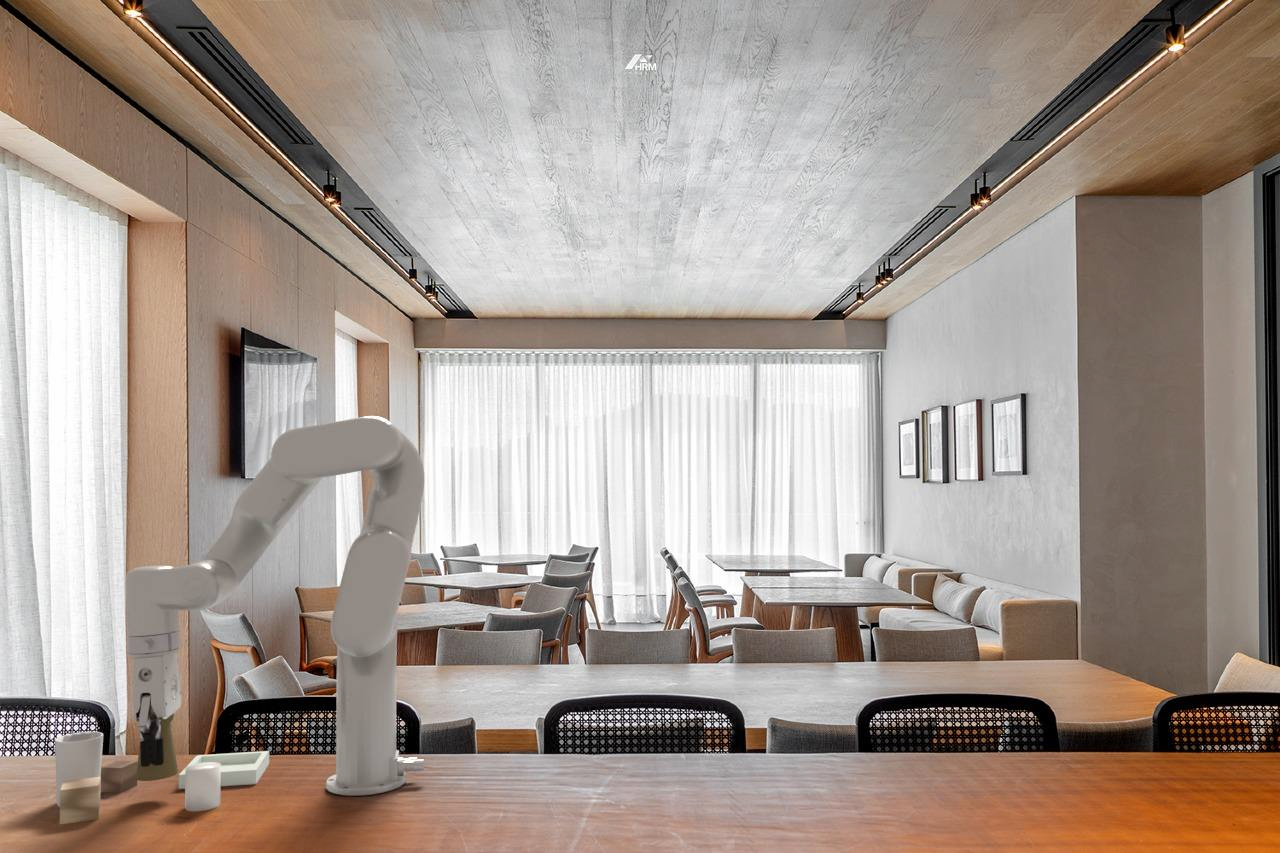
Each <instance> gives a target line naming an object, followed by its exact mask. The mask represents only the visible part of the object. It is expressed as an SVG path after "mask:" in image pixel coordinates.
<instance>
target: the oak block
mask: <svg viewBox="0 0 1280 853" xmlns="http://www.w3.org/2000/svg"><path fill="white" fill-rule="evenodd" d="M101 793H102V792H101V777H95V778H87V779H79V780H71V781H63V784H62V787H61V790H60V807H59V825H67V824H73V823H74V824H75V823H81V822H87V821H88V822H89V821H94V820H99V818H100V814H101V813H100V812H101Z"/></svg>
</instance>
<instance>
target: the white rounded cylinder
mask: <svg viewBox="0 0 1280 853" xmlns="http://www.w3.org/2000/svg"><path fill="white" fill-rule="evenodd" d="M184 769H185V789H184V810H186V811H188V812H204V811H210V810H213V809H215V808H218V807H220V806H221V790H222V789H221V787H222V786H221V764H220V763H217V762H203V763H197V764H193V765H190V766H188V767H187V766H186V767H184Z"/></svg>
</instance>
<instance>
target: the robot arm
mask: <svg viewBox="0 0 1280 853" xmlns="http://www.w3.org/2000/svg"><path fill="white" fill-rule="evenodd" d="M368 470H370V472H371V475H372V487H371V490H370V491H371V492H370V494H369V498H368V501H367V502H368V503H367V507H366V511H365V517H364V520H363V523H362V527H361V530H360V533H359V535H358V536H357V537H356V538H355V539H354V540H353V542H352V544H351V545H350V549H349V550H348V554H347V557H346V561H345V563H344V567H343V568H344V569H343V571H342V577H341V580H340V585H339V589H338V592H337V597H336V600H335V603H334V608H333V610H332V611H333V613H332V614H331V615H332V617H331V619H330V620H331V621H330V632H331V634H330V635H331V637H332V640H333V642H334V644H335V645H336V646H337V647H336V648H337V650H336V652H337V653H336V718H335V719H336V721H335V722H336V726H335V727H336V732H335V733H336V741H335V742H336V745H335V746H336V750H335V751H336V752H335V754H336V755H335V760H336V761H335V763H336V765H335V766H336V767H335V768H336V769H335V770H336V771H335V774H333V775H331V776H329V777H328V778H327V779H326V782H325V788H326V790H327V791H328V792H330V793H331V794H335V795H340V796H350V797H351V796H369V795H370V796H371V795H377V794H382V793H386V792H390V791H393V790H396V789H398V788H400V787H402V786H403V785H404V784H405V783H406V781H407V774H406V773H407V772H413V773H419V772H420V773H421V772H424V771H425V759H424V758H422V759H421V758H420V759H418V756H417V757H407V758H403V756H400V750H399V749H397V675H398V674H397V655H398V653H397V651H398V650H397V648H398V611H399V607H400V603H401V600H402V599H401V598H402V594H403V592H404V586H405V584H406V583H405V582H406V578H407V574H408V571H409V570H408V569H409V567H410V564H411V560H412V547H413V542H414V538H415V533H416V530H417V528H416V527H417V526H418V525H417V524H418V521H419V514H420V510H421V506H422V501H423V495H424V490H425V470H424V465H423V461H422V457H421V455H420V453H419V451H418V449H417V447H416V446H415V445H414V444H413V442H412V441H411V440H410V438H408V437H407V435H405V433H403V431H401V430H400V429H399V428H398V427H396V425H395V424H393V423H392V422H391V421H389V420H388V419H386V418H384V417H381V416H375V415H367V416H361V417H359V416H358V417H355V418H350V419H345V420H344V419H343V420H337V421H332V422H327V423H321V424H316V425H309V426H303V427H302V426H301V427H295V428H292V429H288V430H286V431H285V432H284V433H282V434H281V435H279V436H278V438H277V439H276V440H275V442H274V443H273V446H272V448H271V453H270V458H268V460H267V462H266V463H265V464H264V466H263V467H262V468H261V469H260V471H259V472H258V473H257V474H256V476H255V477H254V478H253V479H252V480H251V482H250V483H249V484H248V485H247V486H246V488H245V489H244V490H243V492H242V493H241V494H240V495H239V496H238V498H237V500H236V502H235V503H234V506H233V510H232V515H231V518H230V521H229V522H228V524H227V526H226V528H225V529H224V531H222V533H221V535H220V536H219V538H217V540H216V541H215V543H214V544H213V545H212V547H210V549H209V550H208V551H207V553H206V554H205V555H204V557H203V558H201V560H200V561H198V562H195V563H192V564H188V565H183V566H182V565H181V566H175V567H174V566H171V565H165V564H164V565H160V564H159V565H149V566H138V567H135V568H132V569H131V570H129V571H128V572H127V573H126V576H125V607H126V608H125V609H126V610H125V611H126V641H127V642H126V643H127V644H126V646H127V650H126V651H127V652H126V653H127V657H128V658H130V659H131V658H132V659H133V661H132V671H131V672H132V675H131V676H132V678H131V681H132V684H131V687H132V688H131V701H132V702H131V704H132V705H131V706H132V717H133V720H134V721H136V722H137V726H138V730H139V747H140V750H141V766H142V767H147V766H149V765H150V763H151V764H153V765H155V766H157V765H162V764H163V763H164V746H163V738H161V717H162V719H167V718H168V717H170V716H171V715H172V714H173V713H174V714H175V713H176V712H177V711H178V710H179V709H180V708H181V706H182V694H181V693H182V692H181V691H182V690H181V680H180V666H179V659H178V653H179V652H180V651H181V641H180V640H181V638H180V636H181V634H180V611H191V612H193V611H194V612H200V611H206V610H208V609H211V608H213V607H214V606H217V605H218V604H220V603H222V602H224V601H225V600H227V599H228V598H229V597H231V595H232V594H233V593H234V592H235V591H236V589H237V588H238V587H240V586H239V585H241V583H242V582H243V581H244V579H246V577H247V576H248V574H249V573H250V572H251V571H252V569H253V568H254V567H255V565H256V564H257V563H258V562H259V560H260V559H261V558H262V556H263V554H265V552H266V551H267V549H268V548H269V547H270V545H271V544H272V543H273V542H274V541H275V540H276V539H277V537H278V536H279V534H280V532H281V531H282V529H283V528H285V526H286V525H287V524H288V522H289V521H290V519H291V518H292V516H294V514H295V513H296V511H297V510H298V509H299V507H301V505H302V504H303V503H304V502H305V500H306V499H307V497H308V496H309V495H310V494H311V493H312V491H313V490H314V489H315V487H317V485H318V484H319V483H320V481H322V479H323V478H329V477H336V476H341V475H347V474H351V473H356V472H361V471H368ZM139 714H140V715H139ZM150 715H156V716H157V719H150ZM138 722H139V723H138ZM151 723H156V728H155V726H154V725H151ZM172 723H173V722H171V723H170V726H171V729H172V728H173V726H172V725H173V724H172ZM171 732H172V733H173V731H172V730H171Z"/></svg>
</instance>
